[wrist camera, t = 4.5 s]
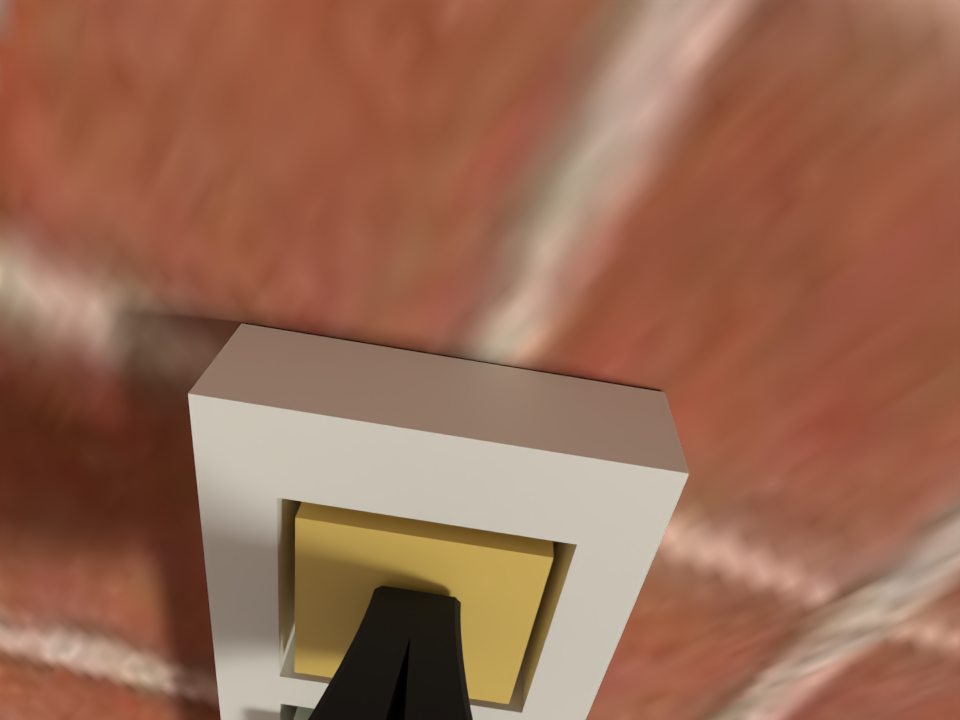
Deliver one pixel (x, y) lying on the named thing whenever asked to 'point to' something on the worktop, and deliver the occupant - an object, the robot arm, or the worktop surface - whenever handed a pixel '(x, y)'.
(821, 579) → the worktop surface
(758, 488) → the worktop surface
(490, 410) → the button panel
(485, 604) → the ochre button
